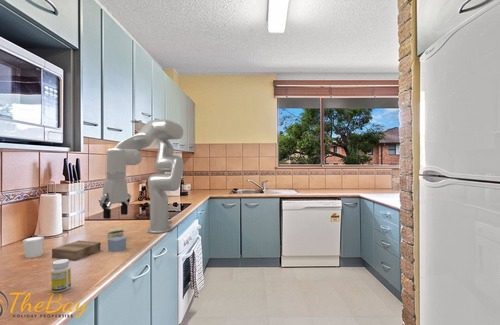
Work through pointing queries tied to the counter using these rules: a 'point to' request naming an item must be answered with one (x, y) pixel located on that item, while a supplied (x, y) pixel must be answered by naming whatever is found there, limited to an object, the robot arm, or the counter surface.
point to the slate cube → (117, 244)
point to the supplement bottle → (61, 275)
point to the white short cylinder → (33, 247)
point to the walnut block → (76, 250)
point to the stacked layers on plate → (114, 233)
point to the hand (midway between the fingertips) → (115, 216)
